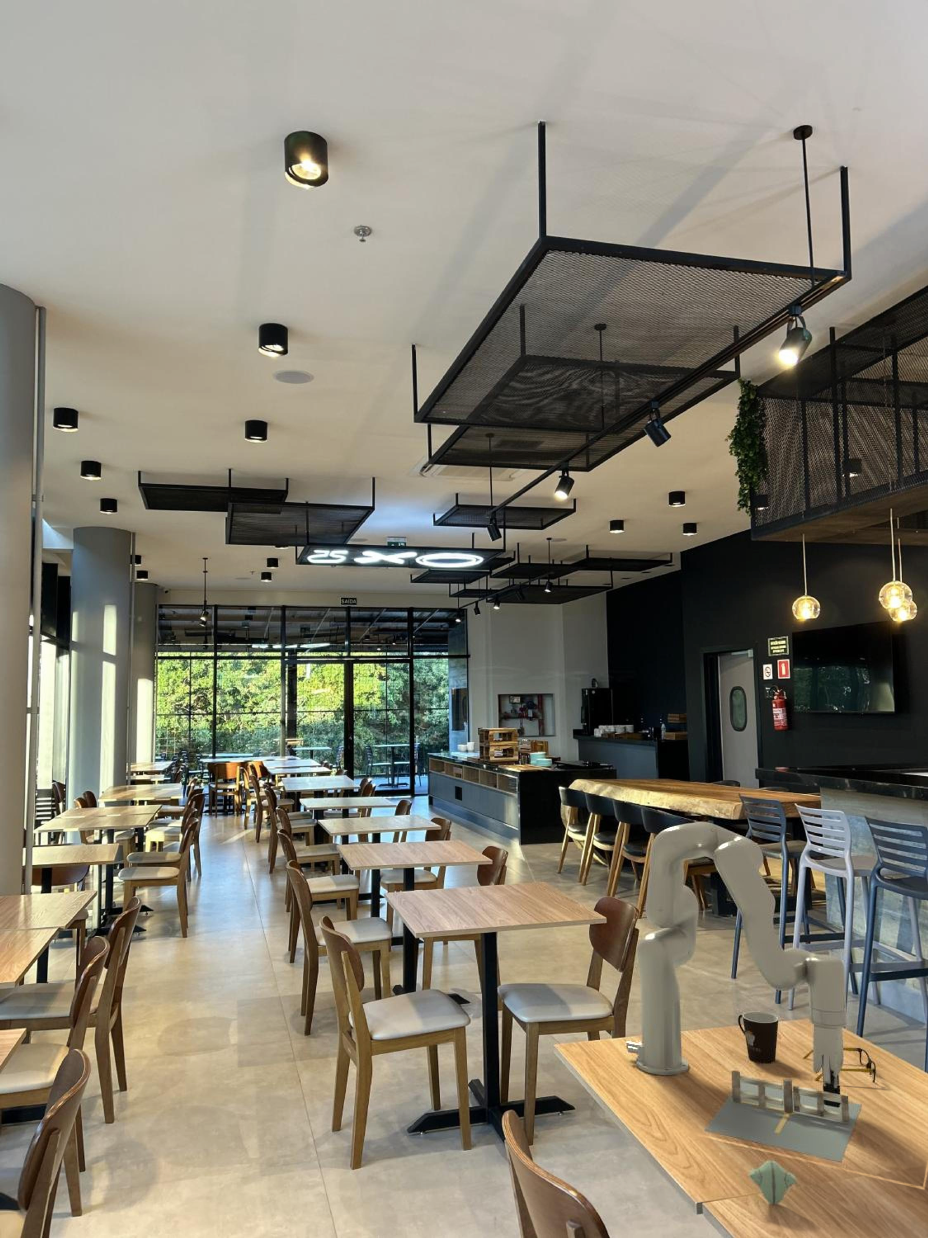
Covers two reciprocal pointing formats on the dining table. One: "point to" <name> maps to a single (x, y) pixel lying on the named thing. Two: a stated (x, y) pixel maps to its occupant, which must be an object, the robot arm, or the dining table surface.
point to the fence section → (762, 1091)
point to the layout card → (785, 1125)
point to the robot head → (772, 1181)
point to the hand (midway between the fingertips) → (832, 1105)
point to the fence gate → (821, 1103)
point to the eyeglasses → (860, 1063)
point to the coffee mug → (760, 1036)
